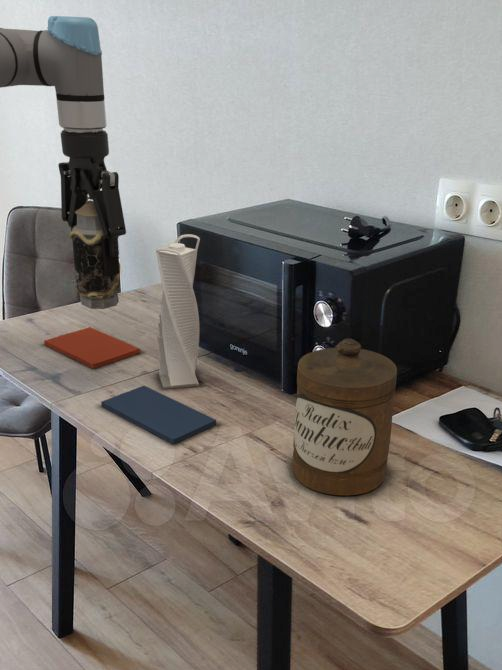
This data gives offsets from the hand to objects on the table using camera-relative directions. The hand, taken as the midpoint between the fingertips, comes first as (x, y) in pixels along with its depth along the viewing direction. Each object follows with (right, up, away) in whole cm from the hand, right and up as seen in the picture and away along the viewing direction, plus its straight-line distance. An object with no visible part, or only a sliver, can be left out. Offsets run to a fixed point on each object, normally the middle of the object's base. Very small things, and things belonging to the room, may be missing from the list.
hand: (97, 269), depth 127 cm
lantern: (0, -5, +4) cm, 6 cm away
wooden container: (+42, -37, -15) cm, 58 cm away
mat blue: (+11, -27, 0) cm, 29 cm away
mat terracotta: (-7, -10, +25) cm, 28 cm away
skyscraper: (+14, -19, +13) cm, 26 cm away
